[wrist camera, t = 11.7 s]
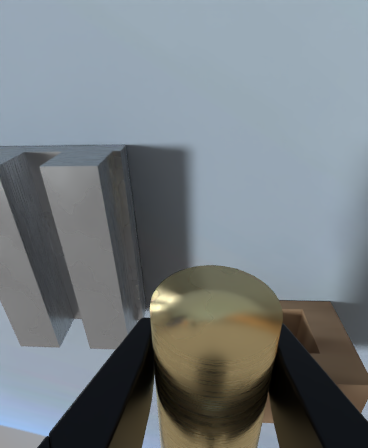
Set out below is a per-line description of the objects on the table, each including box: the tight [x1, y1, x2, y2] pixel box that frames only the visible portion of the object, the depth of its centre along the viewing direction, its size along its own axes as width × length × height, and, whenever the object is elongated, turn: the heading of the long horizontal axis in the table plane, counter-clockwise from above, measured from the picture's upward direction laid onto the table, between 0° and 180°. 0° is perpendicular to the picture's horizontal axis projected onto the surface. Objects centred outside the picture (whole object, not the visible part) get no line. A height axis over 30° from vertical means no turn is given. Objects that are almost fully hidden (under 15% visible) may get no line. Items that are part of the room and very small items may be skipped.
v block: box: [0, 145, 146, 349], centre depth 17 cm, size 12×8×4 cm, turn 2°
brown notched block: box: [262, 301, 368, 423], centre depth 20 cm, size 8×8×6 cm
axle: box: [150, 265, 283, 448], centre depth 9 cm, size 10×3×3 cm, turn 1°
